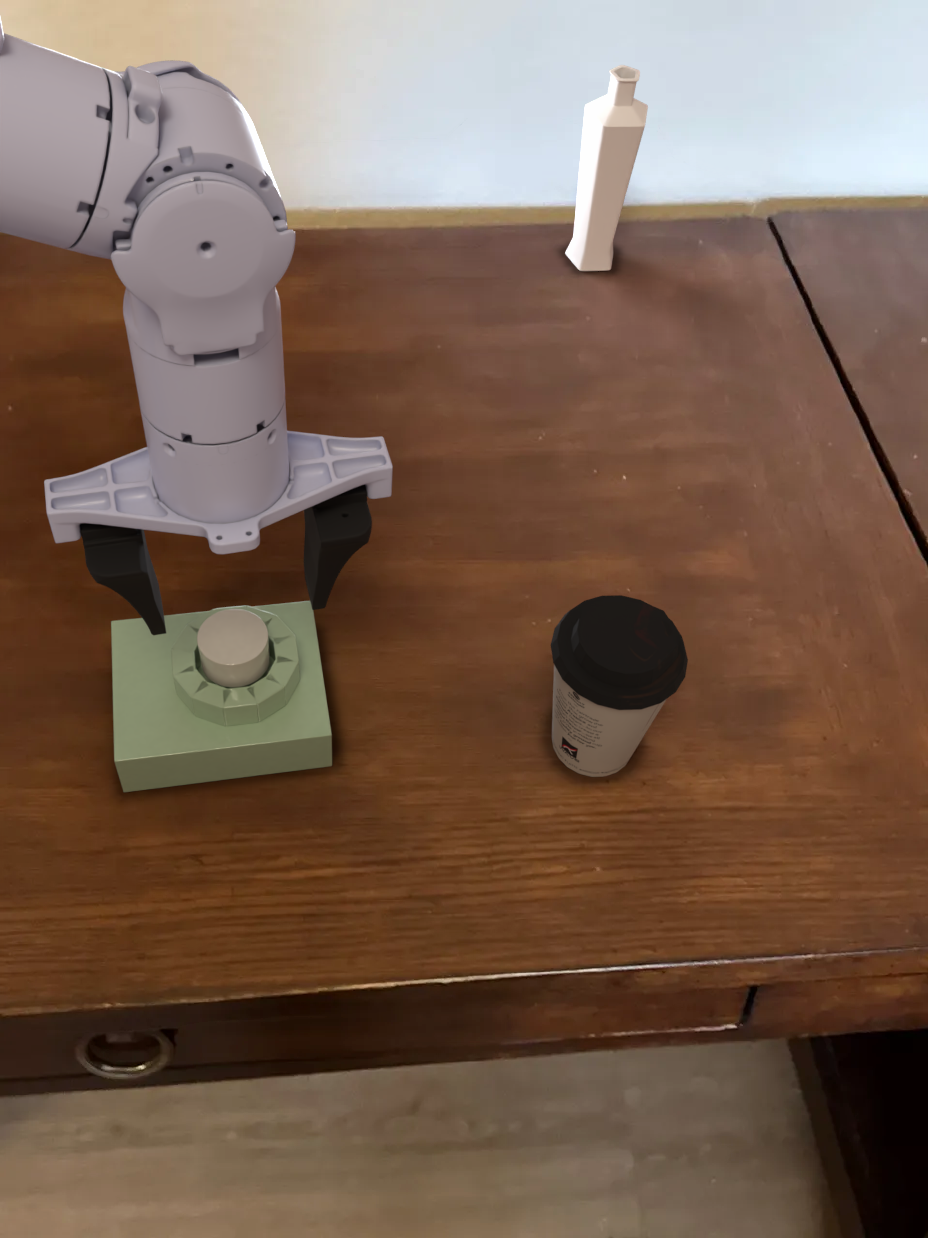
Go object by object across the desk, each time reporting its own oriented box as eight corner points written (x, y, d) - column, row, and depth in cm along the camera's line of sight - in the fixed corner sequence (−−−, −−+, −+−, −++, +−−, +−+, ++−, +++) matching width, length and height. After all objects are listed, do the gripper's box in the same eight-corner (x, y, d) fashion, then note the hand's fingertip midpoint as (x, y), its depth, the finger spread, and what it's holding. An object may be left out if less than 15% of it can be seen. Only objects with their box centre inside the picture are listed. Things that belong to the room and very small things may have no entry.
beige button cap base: (123, 793, 64) (108, 742, 60) (119, 654, 69) (105, 600, 65) (332, 766, 66) (331, 716, 62) (313, 634, 71) (311, 580, 67)
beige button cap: (202, 691, 62) (199, 668, 61) (198, 635, 65) (194, 612, 63) (273, 683, 63) (271, 660, 61) (266, 628, 65) (264, 605, 64)
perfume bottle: (551, 262, 94) (581, 77, 82) (574, 234, 97) (606, 50, 85) (605, 283, 93) (643, 98, 81) (627, 254, 96) (667, 70, 84)
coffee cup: (550, 806, 65) (577, 703, 57) (516, 699, 69) (538, 589, 61) (671, 784, 66) (715, 681, 59) (631, 681, 70) (667, 571, 63)
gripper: (27, 492, 44) (90, 698, 55) (413, 441, 47) (401, 646, 58) (18, 365, 48) (78, 580, 59) (375, 326, 51) (370, 537, 62)
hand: (237, 605), depth 59 cm, fingers open, 7 cm apart
